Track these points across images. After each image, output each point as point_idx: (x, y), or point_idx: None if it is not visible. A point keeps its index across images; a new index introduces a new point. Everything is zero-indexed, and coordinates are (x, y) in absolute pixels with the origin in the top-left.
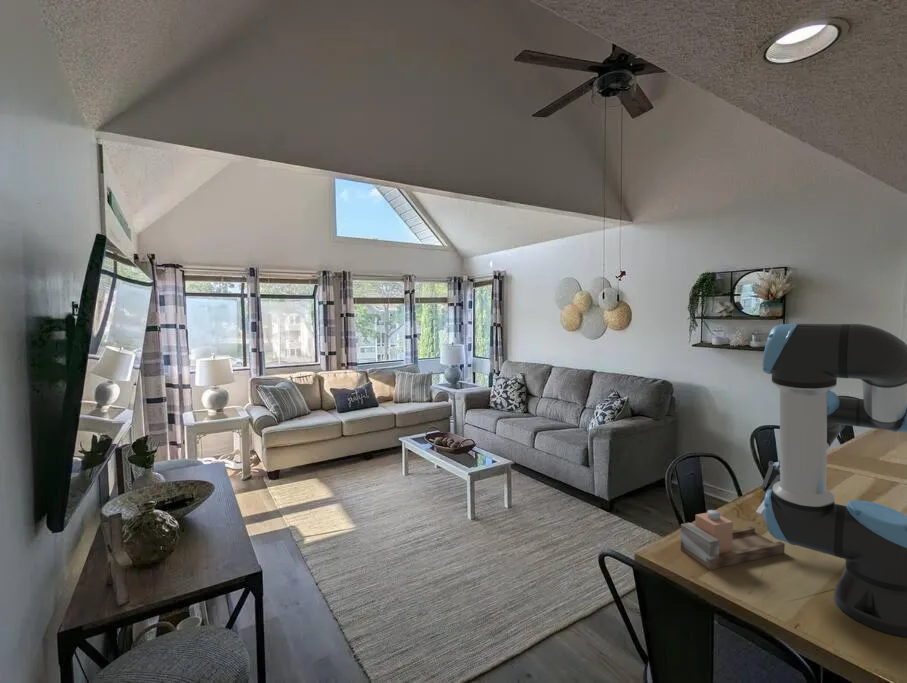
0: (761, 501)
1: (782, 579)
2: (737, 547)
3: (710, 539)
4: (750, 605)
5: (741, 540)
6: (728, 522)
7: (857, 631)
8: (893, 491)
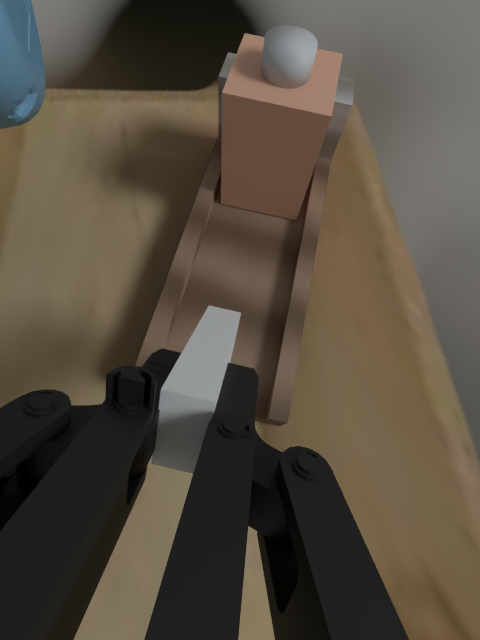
0: (249, 372)
1: (88, 234)
2: (235, 252)
3: None
4: (103, 99)
5: (255, 308)
6: (228, 78)
7: None
8: None
